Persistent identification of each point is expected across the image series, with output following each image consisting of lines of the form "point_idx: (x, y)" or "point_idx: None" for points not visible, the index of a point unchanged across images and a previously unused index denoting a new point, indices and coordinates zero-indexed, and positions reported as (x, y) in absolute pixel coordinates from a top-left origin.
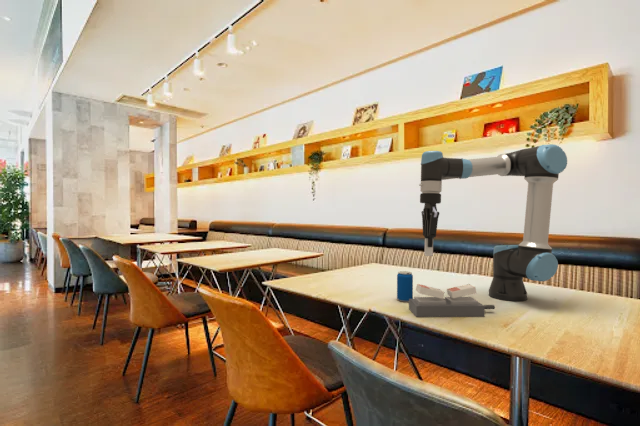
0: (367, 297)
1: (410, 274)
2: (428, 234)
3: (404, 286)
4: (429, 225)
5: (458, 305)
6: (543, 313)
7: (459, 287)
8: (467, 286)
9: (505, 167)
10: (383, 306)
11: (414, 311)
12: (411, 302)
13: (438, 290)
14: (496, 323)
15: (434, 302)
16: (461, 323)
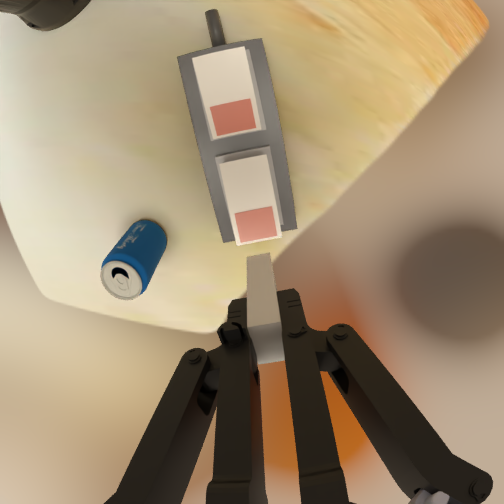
0: (153, 314)
1: (130, 264)
2: (330, 375)
3: (156, 261)
4: (366, 432)
5: (272, 110)
6: None
7: (219, 96)
8: (221, 68)
9: None
10: (217, 285)
11: None
12: None
13: (258, 173)
14: (312, 36)
15: (275, 180)
16: (326, 117)
